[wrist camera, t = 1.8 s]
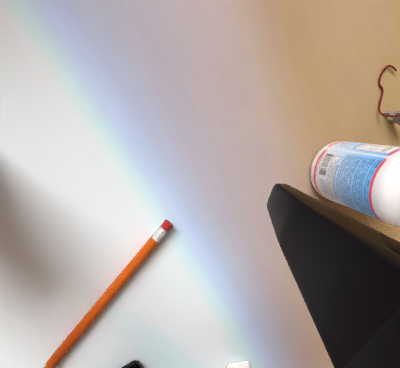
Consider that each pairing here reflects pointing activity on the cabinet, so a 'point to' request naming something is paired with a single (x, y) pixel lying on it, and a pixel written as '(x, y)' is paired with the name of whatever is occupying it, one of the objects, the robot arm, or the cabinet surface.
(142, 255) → the pencil
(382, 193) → the pill bottle
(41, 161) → the cabinet surface
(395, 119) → the pendant
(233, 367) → the perfume bottle
